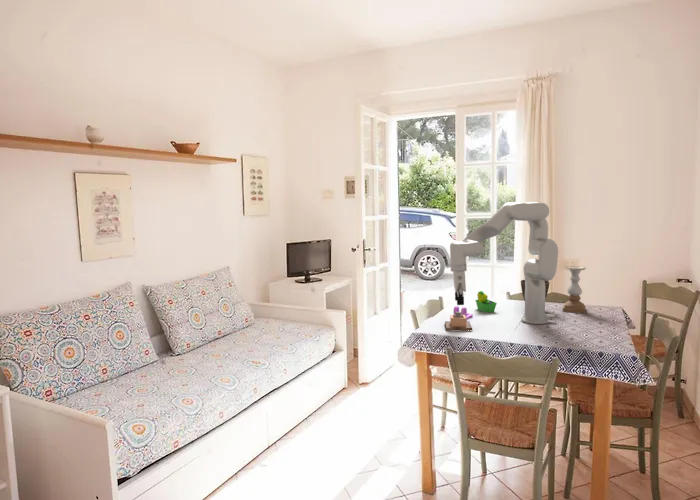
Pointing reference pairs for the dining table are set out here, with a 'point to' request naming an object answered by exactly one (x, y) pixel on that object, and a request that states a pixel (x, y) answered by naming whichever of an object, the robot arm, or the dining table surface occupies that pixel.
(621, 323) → the dining table surface
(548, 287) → the plant pot
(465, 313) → the bracket
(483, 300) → the fruit basket
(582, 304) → the candle holder
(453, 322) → the collar
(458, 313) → the post stand
